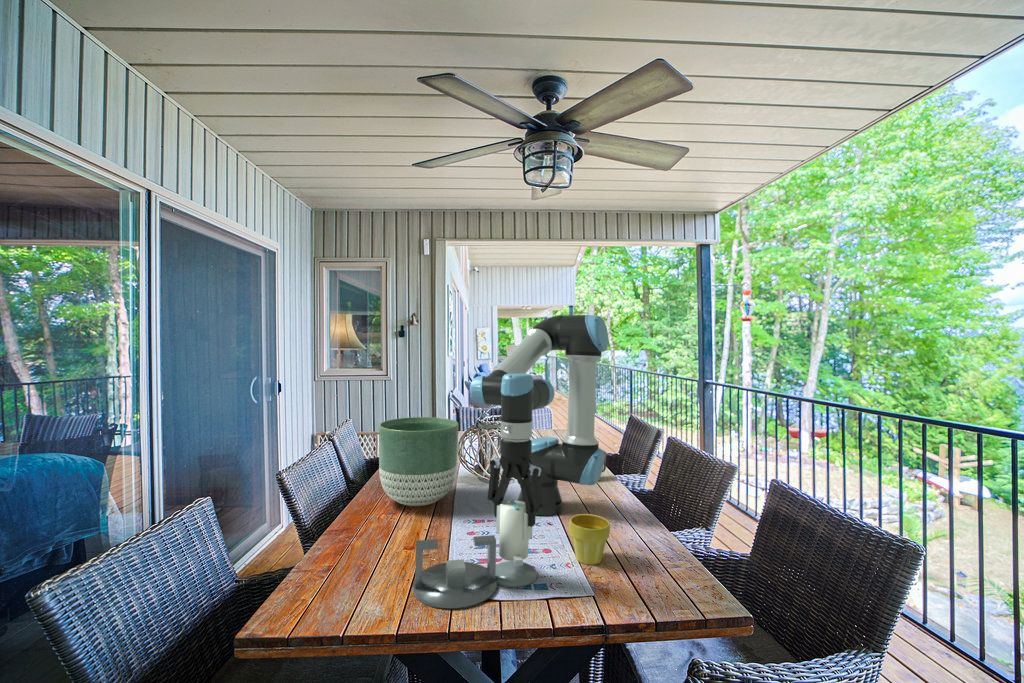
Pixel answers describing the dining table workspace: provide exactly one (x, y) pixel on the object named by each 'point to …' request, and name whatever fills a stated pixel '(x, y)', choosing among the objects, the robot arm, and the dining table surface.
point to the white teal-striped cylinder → (512, 532)
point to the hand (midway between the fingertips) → (514, 534)
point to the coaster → (515, 574)
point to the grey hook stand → (455, 578)
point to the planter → (418, 458)
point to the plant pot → (589, 537)
